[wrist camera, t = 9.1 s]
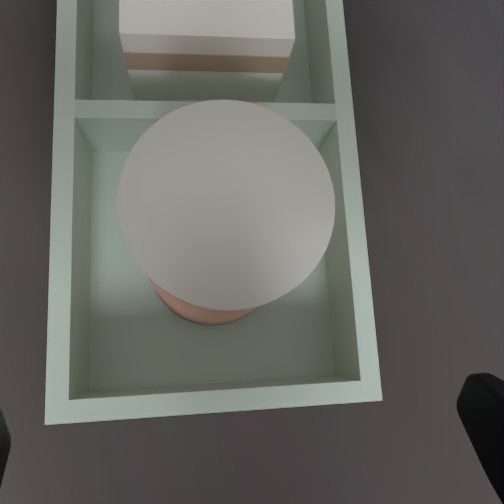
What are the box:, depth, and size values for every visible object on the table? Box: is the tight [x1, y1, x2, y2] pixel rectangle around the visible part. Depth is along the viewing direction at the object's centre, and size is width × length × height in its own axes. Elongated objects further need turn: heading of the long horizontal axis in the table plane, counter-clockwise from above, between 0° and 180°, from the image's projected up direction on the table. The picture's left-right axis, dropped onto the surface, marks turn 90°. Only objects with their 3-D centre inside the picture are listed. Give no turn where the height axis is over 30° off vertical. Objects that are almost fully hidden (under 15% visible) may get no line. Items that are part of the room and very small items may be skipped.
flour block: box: [119, 0, 295, 101], centre depth 22 cm, size 7×7×5 cm
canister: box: [117, 100, 335, 325], centre depth 17 cm, size 6×6×10 cm
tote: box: [45, 0, 382, 425], centre depth 22 cm, size 24×13×4 cm, turn 2°
